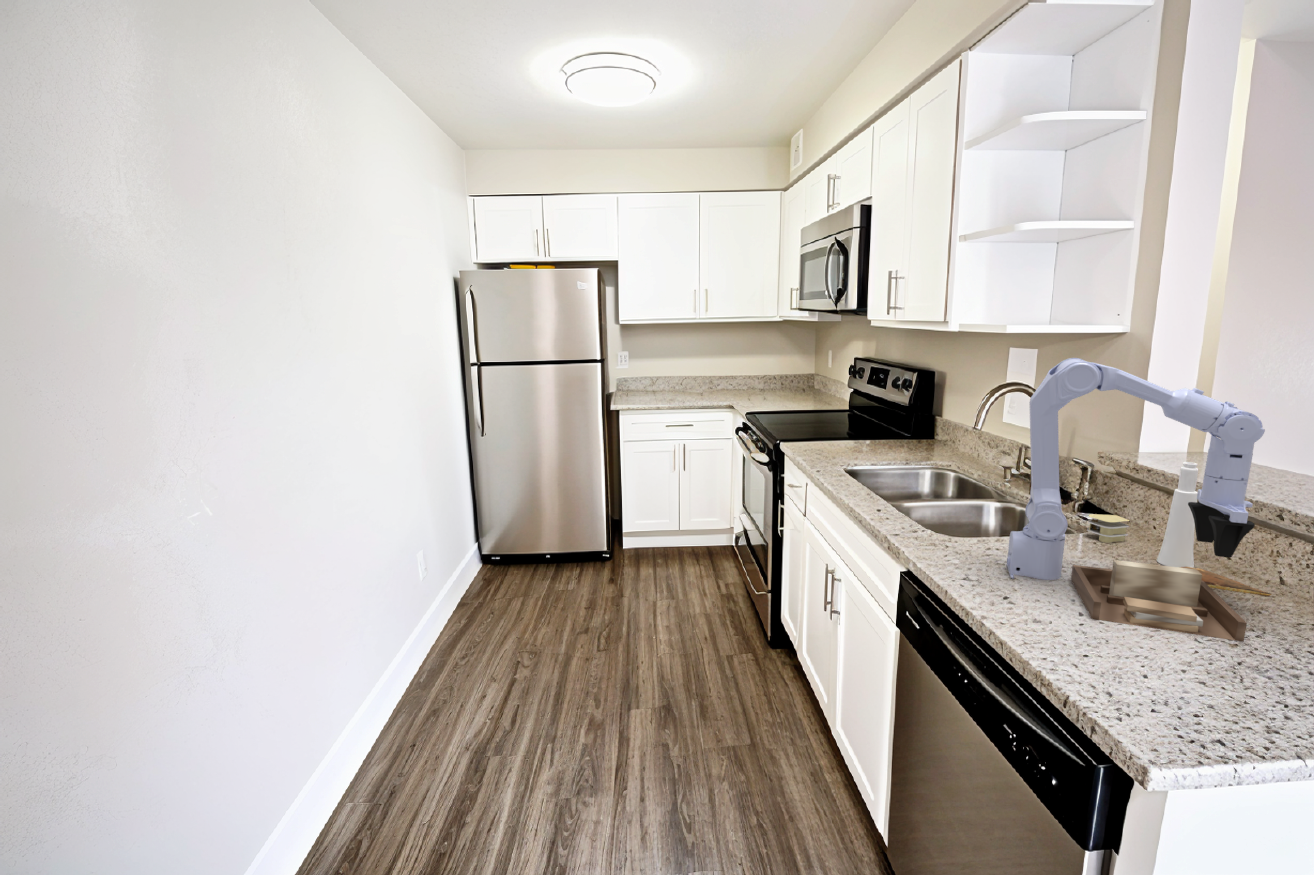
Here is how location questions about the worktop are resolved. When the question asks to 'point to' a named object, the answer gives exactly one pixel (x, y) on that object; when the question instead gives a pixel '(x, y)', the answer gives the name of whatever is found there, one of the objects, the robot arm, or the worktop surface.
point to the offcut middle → (1166, 619)
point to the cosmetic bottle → (1181, 521)
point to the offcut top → (1160, 609)
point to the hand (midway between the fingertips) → (1213, 548)
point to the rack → (1111, 608)
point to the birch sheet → (1155, 583)
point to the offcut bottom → (1160, 623)
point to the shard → (1226, 583)
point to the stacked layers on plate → (1108, 527)
